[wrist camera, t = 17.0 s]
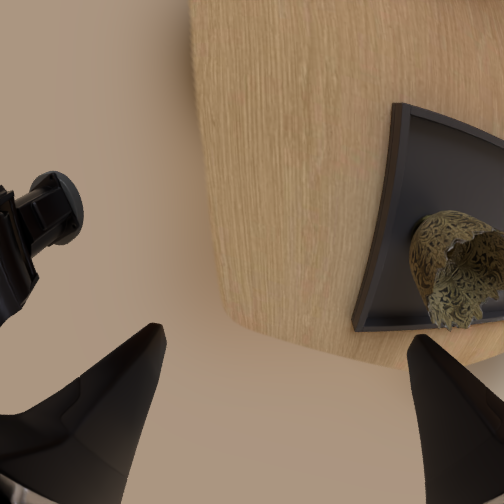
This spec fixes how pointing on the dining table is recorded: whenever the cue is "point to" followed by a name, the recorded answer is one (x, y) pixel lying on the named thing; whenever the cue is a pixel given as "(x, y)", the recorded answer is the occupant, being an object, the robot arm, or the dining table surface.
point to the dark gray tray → (426, 210)
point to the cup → (456, 266)
